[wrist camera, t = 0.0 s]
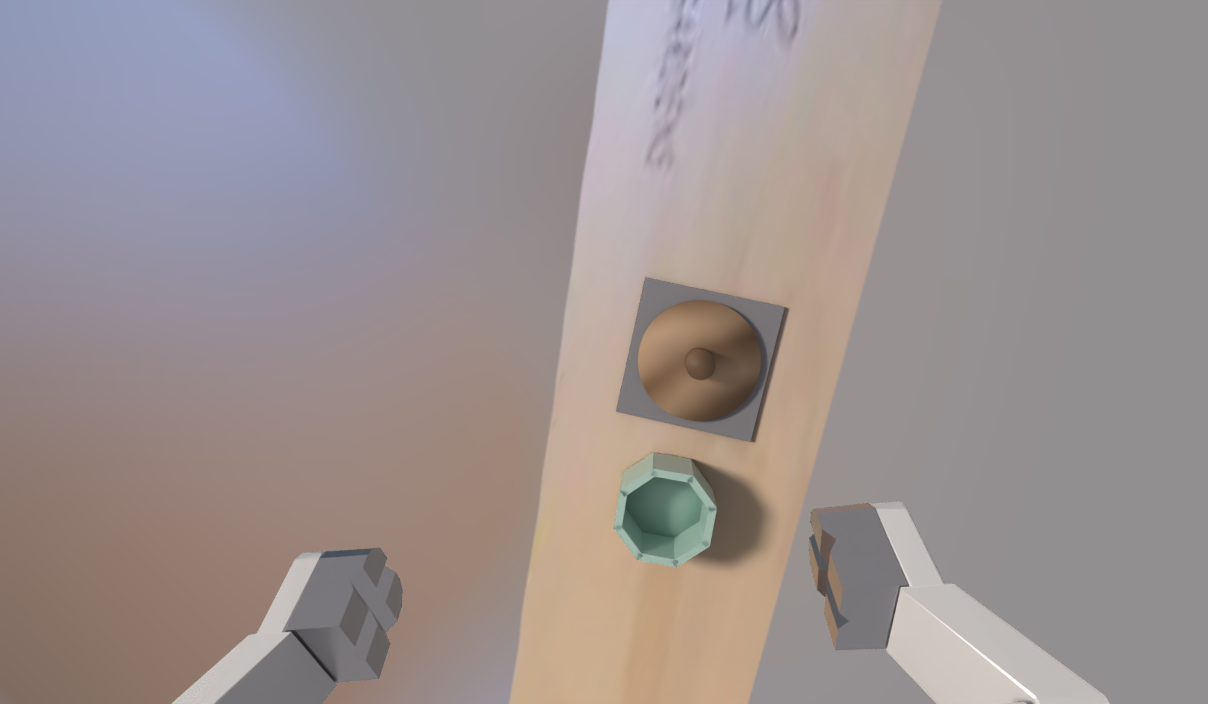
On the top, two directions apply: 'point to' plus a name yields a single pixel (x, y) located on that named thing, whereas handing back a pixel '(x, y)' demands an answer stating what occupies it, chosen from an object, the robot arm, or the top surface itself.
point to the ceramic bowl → (665, 510)
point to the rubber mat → (667, 294)
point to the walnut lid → (699, 360)
